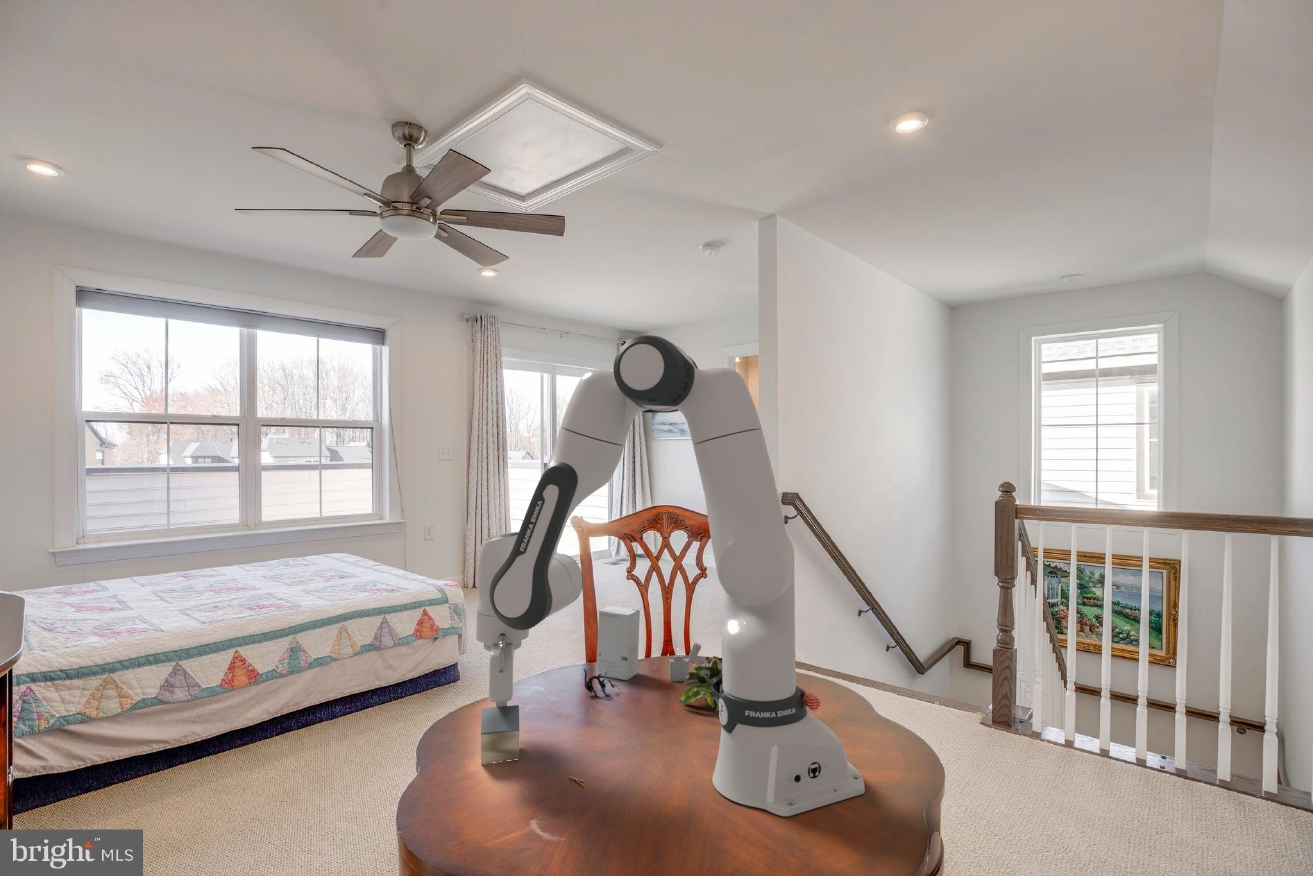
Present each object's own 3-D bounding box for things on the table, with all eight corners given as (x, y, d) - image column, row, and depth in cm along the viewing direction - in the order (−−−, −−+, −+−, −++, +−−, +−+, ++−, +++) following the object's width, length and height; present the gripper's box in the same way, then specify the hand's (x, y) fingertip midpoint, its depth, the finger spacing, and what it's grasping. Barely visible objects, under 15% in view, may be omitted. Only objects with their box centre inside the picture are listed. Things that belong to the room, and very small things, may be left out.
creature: (613, 691, 135) (578, 687, 133) (618, 666, 136) (583, 661, 133) (622, 704, 127) (584, 700, 125) (627, 678, 128) (590, 673, 126)
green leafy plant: (715, 725, 127) (746, 674, 130) (724, 738, 116) (757, 682, 119) (670, 693, 128) (701, 642, 131) (674, 703, 117) (708, 648, 120)
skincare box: (595, 676, 141) (595, 610, 142) (608, 668, 147) (608, 604, 147) (628, 681, 138) (628, 613, 138) (640, 673, 143) (640, 608, 144)
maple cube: (518, 735, 107) (518, 705, 105) (519, 760, 101) (519, 729, 100) (482, 738, 105) (482, 708, 104) (481, 765, 100) (480, 733, 98)
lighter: (670, 681, 137) (669, 645, 138) (669, 678, 139) (669, 642, 140) (701, 680, 138) (701, 643, 138) (700, 677, 140) (700, 641, 140)
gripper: (522, 643, 97) (520, 733, 97) (521, 612, 117) (519, 686, 117) (480, 645, 96) (478, 736, 95) (486, 613, 116) (485, 688, 115)
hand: (501, 708), depth 106 cm, fingers closed
